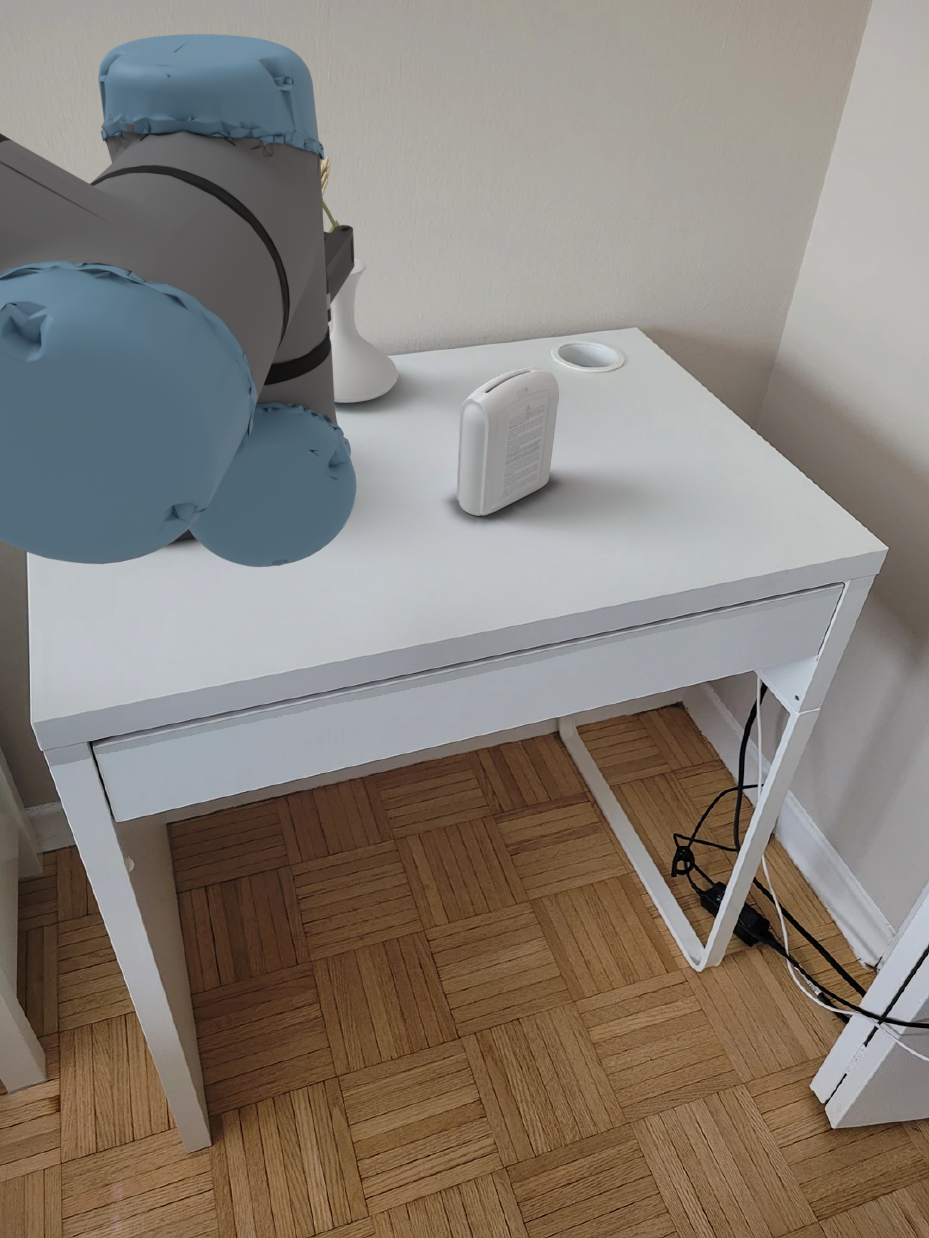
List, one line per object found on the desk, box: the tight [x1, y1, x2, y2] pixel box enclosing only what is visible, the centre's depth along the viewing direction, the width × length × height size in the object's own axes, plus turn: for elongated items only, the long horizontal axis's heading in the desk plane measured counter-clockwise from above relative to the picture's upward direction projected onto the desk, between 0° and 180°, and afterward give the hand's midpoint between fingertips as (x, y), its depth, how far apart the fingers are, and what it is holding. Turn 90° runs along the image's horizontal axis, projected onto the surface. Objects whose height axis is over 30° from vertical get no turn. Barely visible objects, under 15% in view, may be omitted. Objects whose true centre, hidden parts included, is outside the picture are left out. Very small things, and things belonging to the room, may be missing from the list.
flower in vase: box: [321, 155, 399, 404], centre depth 98 cm, size 13×11×25 cm
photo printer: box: [456, 366, 560, 517], centre depth 87 cm, size 10×4×12 cm, turn 134°
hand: (182, 218), depth 65 cm, fingers open, 13 cm apart
